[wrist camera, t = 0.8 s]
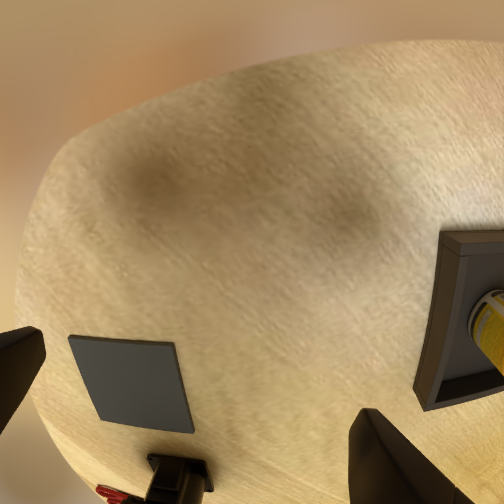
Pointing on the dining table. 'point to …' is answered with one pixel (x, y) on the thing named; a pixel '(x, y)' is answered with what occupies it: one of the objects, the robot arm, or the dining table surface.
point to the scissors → (111, 495)
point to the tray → (459, 321)
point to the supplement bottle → (489, 327)
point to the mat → (134, 382)
